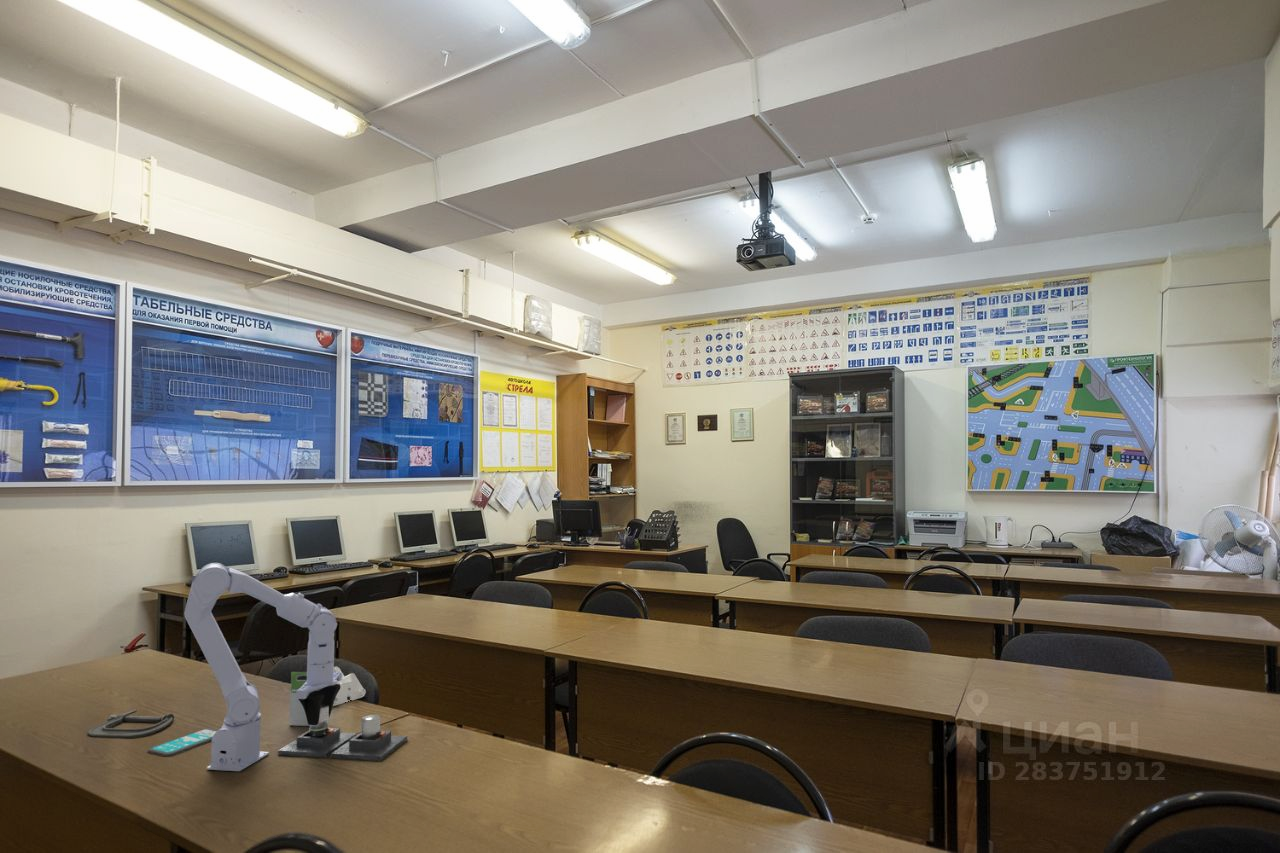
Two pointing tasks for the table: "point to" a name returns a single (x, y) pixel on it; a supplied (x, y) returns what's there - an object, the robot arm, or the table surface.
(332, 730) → the stand
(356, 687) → the mounting bracket
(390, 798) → the table surface
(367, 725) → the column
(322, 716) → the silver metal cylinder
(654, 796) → the table surface
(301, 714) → the ink box
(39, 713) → the table surface
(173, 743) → the smartphone
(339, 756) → the stand
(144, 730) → the c clamp
